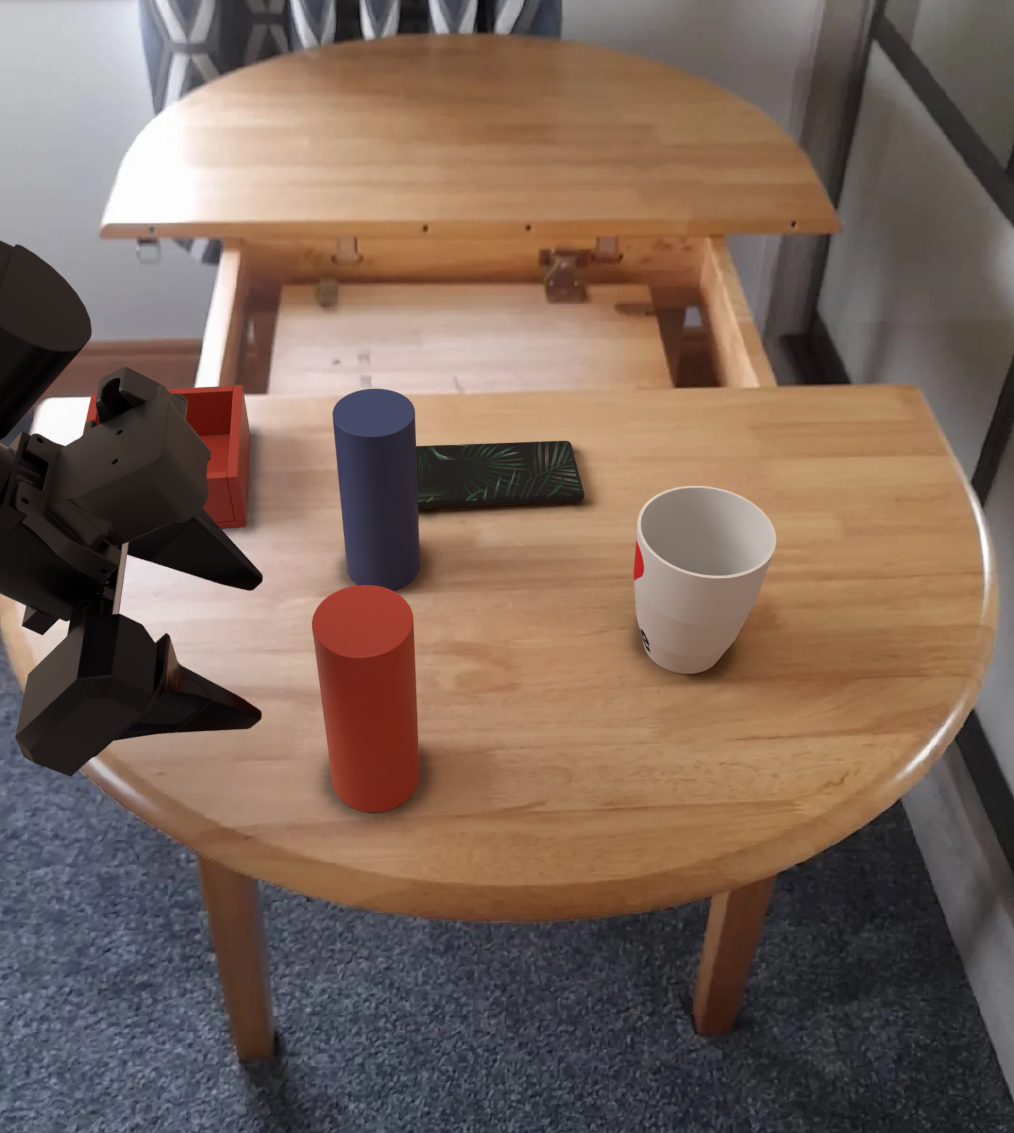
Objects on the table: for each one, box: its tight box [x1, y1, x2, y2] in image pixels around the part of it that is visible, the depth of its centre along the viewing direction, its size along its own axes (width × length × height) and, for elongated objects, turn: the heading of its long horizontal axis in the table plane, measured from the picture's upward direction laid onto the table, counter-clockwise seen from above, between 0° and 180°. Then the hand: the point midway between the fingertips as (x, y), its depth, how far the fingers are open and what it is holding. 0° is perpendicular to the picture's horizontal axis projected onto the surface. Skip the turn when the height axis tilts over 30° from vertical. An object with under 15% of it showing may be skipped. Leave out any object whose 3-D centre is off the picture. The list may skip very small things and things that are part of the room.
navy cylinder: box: [332, 388, 421, 591], centre depth 72 cm, size 5×5×13 cm
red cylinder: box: [311, 584, 421, 813], centre depth 60 cm, size 5×5×13 cm
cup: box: [633, 485, 777, 675], centre depth 69 cm, size 8×8×10 cm
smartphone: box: [416, 440, 585, 511], centre depth 83 cm, size 7×1×15 cm
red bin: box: [82, 384, 251, 529], centre depth 81 cm, size 11×11×5 cm
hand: (257, 648), depth 55 cm, fingers open, 9 cm apart
